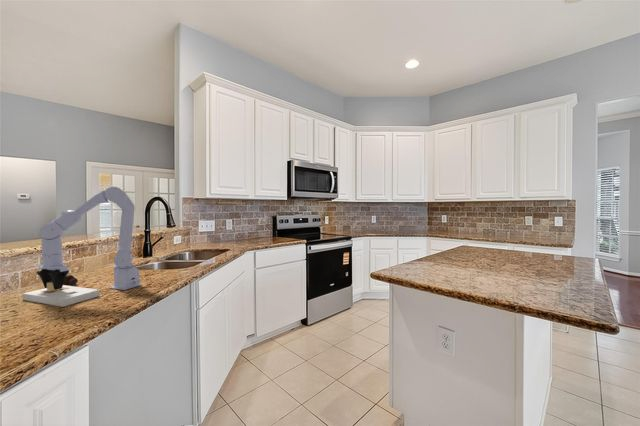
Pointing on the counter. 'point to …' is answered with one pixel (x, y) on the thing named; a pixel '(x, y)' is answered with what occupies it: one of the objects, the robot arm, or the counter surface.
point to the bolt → (70, 280)
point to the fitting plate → (61, 295)
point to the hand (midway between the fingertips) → (53, 288)
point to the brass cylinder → (51, 287)
